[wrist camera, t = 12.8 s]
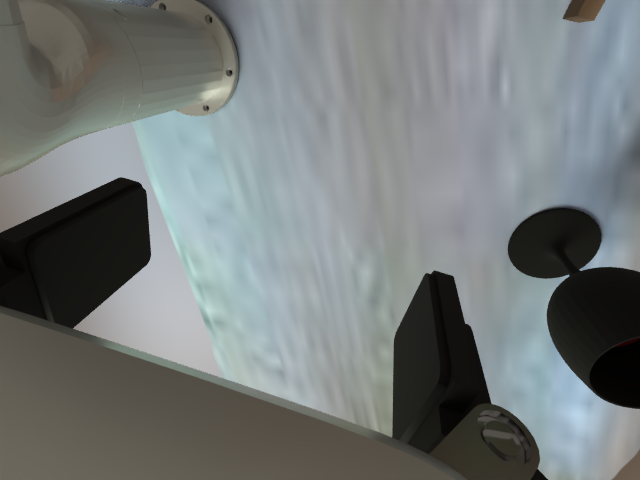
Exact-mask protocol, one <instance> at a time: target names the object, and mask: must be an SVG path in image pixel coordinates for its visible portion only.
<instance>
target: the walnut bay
mask: <svg viewBox="0 0 640 480" xmlns="http://www.w3.org/2000/svg"><path fill="white" fill-rule="evenodd" d="M604 2H605V0H572V1H571V3H570V5H569V7H568V9H567V11H566V13H565V15H564V17H563V19H566V20H570V21H574V22H578V23H579V22H586V21H593V20H595V18H596V16H597V14H598V13H599V11H600V9H601V7H602V5H603V4H604Z"/></svg>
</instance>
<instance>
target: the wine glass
mask: <svg viewBox="0 0 640 480" xmlns="http://www.w3.org/2000/svg"><path fill="white" fill-rule="evenodd" d="M600 244H601V231H600V228H599V226H598V224H597V223H596V222H595V220H594V219H593V218H591V217H590V216H589V215H587V214H586V213H584V212H581V211H579V210H575V209H569V208H557V209H550V210H546V211H543V212H540V213H537V214H535V215H533V216H531V217H530V218H528V219H526V220H525V221H524V222H522V223H521V224H520V225H519V226H518V227H517V228H516V230H515V231H514V232H513V234H512V236H511V238H510V241H509V244H508V255H509V258H510V260H511V262H512V263H513V265H514V266H515V267H516V268H517V269H518V270H519V271H521V272H522V273H524V274H526V275H529V276H532V277H536V278H557V277H562V276H565V275H568V274H569V275H570V277H568V278H567V279H565V280H564V281H563V282H562V283H561V284H560V285H559V286H558V287H557V288H556V289H555V291H554V293H553V294H552V296H551V298H550V301H549V304H548V309H547V324H548V329H549V332H550V335H551V338H552V341H553V343H554V345H555V347H556V349H557V350H558V352H559V353H560V355H561V356H562V358H563V360H564V361H565V362H566V364H567V365H568V366H569V367H570V369H571V370H572V371H573V372H574V373H575V374H576V375H577V376H578V377H579V378H580V379H581V380H582V381H583V382H584V383H585V384H586V385H587V386H588V387H589V388H590V389H591V390H592V391H593V392H594V393H595V394H596V395H597V396H599V397H600V398H602V399H603V400H605V401H607V402H610V403H612V404H615V405H618V406H622V407H628V408H635V409H640V272H637V271H634V270H629V269H624V268H615V267H599V268H592V269H587V270H583V271H580V270H579V269H581V268H582V267H584V266H585V265H586V264H587V263H589V262H590V261H591V260H592V258H593V257H594V256H595V255H596V253H597V251H598V249H599V247H600Z"/></svg>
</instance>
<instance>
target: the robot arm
mask: <svg viewBox="0 0 640 480" xmlns="http://www.w3.org/2000/svg"><path fill="white" fill-rule="evenodd" d="M211 18H212V22H211ZM231 70H232V73H233V74H231ZM238 73H239V67H238V56H237V52H236V47H235V44H234V42H233V39H232V36H231V35H230V33H229V31H228V29H227V27H226V25H225V24H224V23H223V21H222V20H221V19H220V18H219V16H218V15H217V14H216V13H215V12H214V11H212V10H211V9H210V8H209V7H208V6H206V5H205V4H203V3H201V2H200V1H197V0H158V1H156V2H154V3H153V4H152V5H151V6H150V7H143V6H137V5H131V4H124V3H118V2H112V1H106V0H0V177H2V176H5V175H7V174H10V173H12V172H14V171H17V170H19V169H21V168H23V167H25V166H27V165H28V164H30V163H32V162H34V161H36V160H37V159H39V158H41V157H42V156H44V155H46V154H47V153H49V152H50V151H52V150H54V149H55V148H57V147H59V146H61V145H63V144H65V143H67V142H69V141H72V140H74V139H76V138H79V137H81V136H84V135H87V134H90V133H94V132H97V131H100V130H103V129H107V128H111V127H114V126H118V125H122V124H126V123H129V122H133V121H137V120H140V119H144V118H147V117H151V116H155V115H158V114H162V113H166V112H169V111H173V110H176V111H178V112H180V113H183V114H186V115H191V116H205V115H208V114H212V113H214V112H216V111H218V110H220V109H221V108H222V107H224V106H225V105H226V104H227V102H228V101H229V100H230V99H231V97H232V95H233V93H234V91H235V88H236V85H237V81H238ZM208 106H209V108H208ZM150 249H151V248H150V235H149V221H148V209H147V194H146V190H145V189H144V188H143V187H142V185H141V184H140V183H139V182H136V181H133V180H129V179H126V178H118V179H115V180H113V181H111V182H109V183H107V184H105V185H102V186H100V187H98V188H96V189H94V190H92V191H90V192H87V193H85V194H83V195H81V196H79V197H77V198H74V199H72V200H70V201H68V202H66V203H64V204H62V205H59V206H57V207H55V208H53V209H51V210H49V211H46V212H44V213H42V214H40V215H38V216H36V217H33V218H32V219H29V220H27V221H25V222H23V223H21V224H19V225H17V226H14V227H12V228H10V229H8V230H6V231H3V232H1V233H0V480H548V479H547V478H546V477H545V476H544V475H543V474H542V473H541V472H540V471H539V470H538V469H537V468H538V465H539V462H540V455H539V449H538V447H537V444H536V442H535V439H534V438H533V436H532V435H531V433H530V432H529V430H528V429H527V427H526V426H525V425H524V424H523V423H522V422H521V421H520V420H519V419H518V418H517V417H516V416H514V415H513V414H512V413H510V412H509V411H507V410H505V409H504V408H502V407H500V406H497V405H493V404H491V400H490V396H489V393H488V389H487V385H486V381H485V377H484V374H483V370H482V366H481V362H480V358H479V354H478V351H477V347H476V343H475V339H474V335H473V332H472V329H471V327H470V326H469V325H468V324H465V321H464V317H463V313H462V309H461V305H460V301H459V297H458V293H457V288H456V284H455V280H454V277H453V276H451V275H448V274H444V273H441V272H438V271H433V272H432V273H431V274H428V273H426V274H425V275H424V277H423V279H422V281H421V283H420V285H419V287H418V289H417V291H416V293H415V295H414V297H413V299H412V301H411V303H410V305H409V307H408V309H407V311H406V313H405V315H404V317H403V319H402V321H401V323H400V326H399V328H398V330H397V332H396V335H395V338H394V370H393V437H392V438H391V437H389V436H387V435H384V434H382V433H379V432H377V431H374V430H371V429H368V428H366V427H363V426H360V425H357V424H354V423H352V422H349V421H346V420H343V419H340V418H337V417H335V416H332V415H329V414H326V413H323V412H321V411H318V410H315V409H312V408H309V407H306V406H303V405H300V404H297V403H294V402H291V401H288V400H285V399H282V398H280V397H277V396H274V395H271V394H268V393H265V392H262V391H259V390H256V389H253V388H250V387H247V386H244V385H241V384H238V383H235V382H232V381H229V380H226V379H223V378H220V377H217V376H214V375H211V374H208V373H205V372H202V371H199V370H196V369H193V368H190V367H187V366H184V365H181V364H178V363H175V362H172V361H169V360H166V359H163V358H160V357H157V356H154V355H151V354H148V353H145V352H142V351H139V350H136V349H133V348H129V347H127V346H124V345H121V344H118V343H115V342H112V341H109V340H106V339H102V338H99V337H96V336H93V335H90V334H87V333H84V332H81V331H78V330H75V329H73V328H74V327H75V326H76V325H77V324H78V323H80V322H81V321H82V320H83V319H84V318H85V317H87V316H88V315H89V314H90V313H91V312H92V311H94V310H95V309H96V308H97V307H98V306H99V305H100V304H101V303H103V302H104V301H105V300H106V299H107V298H109V297H110V296H111V295H112V294H113V293H114V292H115V291H117V290H118V289H119V288H120V287H121V286H122V285H124V284H125V283H126V282H127V281H128V280H130V279H131V278H132V277H133V276H134V275H135V274H137V273H138V272H139V271H140V270H141V269H142V268H143V267H145V266H146V265H147V264H148V262H149V260H150V257H151V250H150Z"/></svg>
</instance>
